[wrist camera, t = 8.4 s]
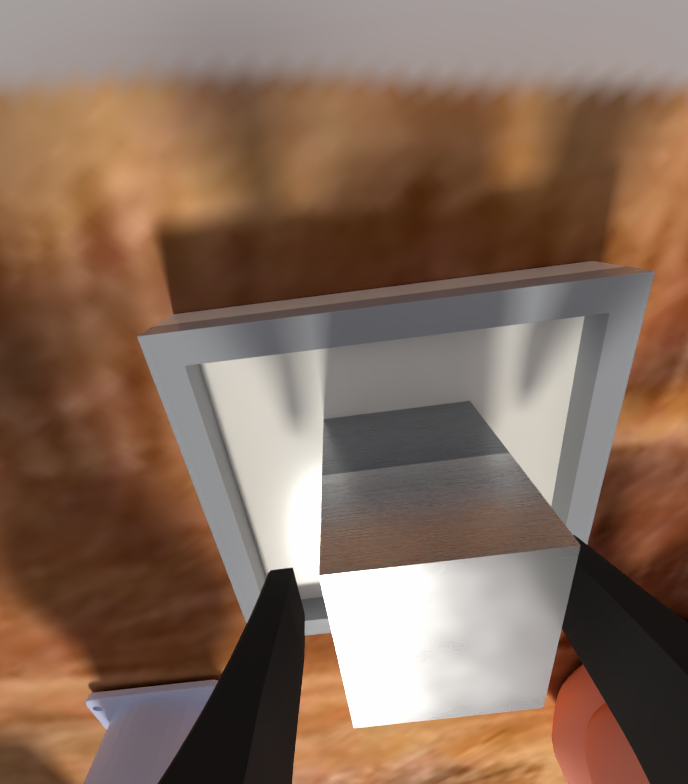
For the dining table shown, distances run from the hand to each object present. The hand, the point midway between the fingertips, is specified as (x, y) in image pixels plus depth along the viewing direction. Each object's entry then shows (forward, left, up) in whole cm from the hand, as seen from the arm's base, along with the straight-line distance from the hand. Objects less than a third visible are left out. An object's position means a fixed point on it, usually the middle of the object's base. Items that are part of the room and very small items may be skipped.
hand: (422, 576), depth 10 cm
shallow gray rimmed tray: (0, 0, -5) cm, 5 cm away
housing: (0, 0, -4) cm, 4 cm away
